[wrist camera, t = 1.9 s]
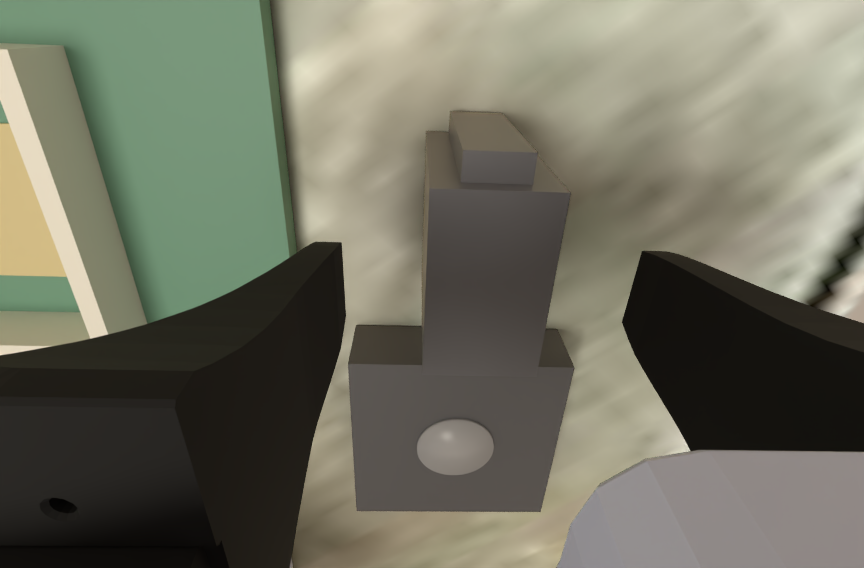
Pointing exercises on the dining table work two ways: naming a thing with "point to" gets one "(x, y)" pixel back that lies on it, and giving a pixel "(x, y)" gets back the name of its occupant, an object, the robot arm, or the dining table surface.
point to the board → (135, 162)
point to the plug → (487, 248)
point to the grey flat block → (451, 428)
